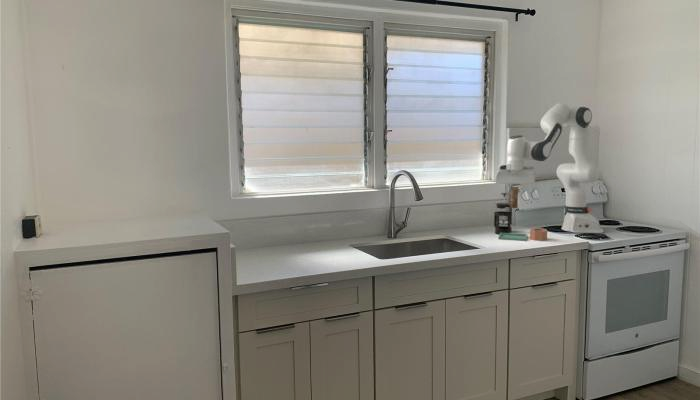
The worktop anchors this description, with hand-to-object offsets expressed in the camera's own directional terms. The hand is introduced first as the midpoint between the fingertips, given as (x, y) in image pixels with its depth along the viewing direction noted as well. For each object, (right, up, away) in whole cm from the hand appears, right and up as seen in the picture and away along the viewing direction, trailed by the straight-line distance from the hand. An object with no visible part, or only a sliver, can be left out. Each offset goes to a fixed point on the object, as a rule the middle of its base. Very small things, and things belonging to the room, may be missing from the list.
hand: (514, 192), depth 283 cm
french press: (0, -23, +21) cm, 31 cm away
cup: (+12, -26, -1) cm, 29 cm away
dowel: (0, -8, +1) cm, 8 cm away
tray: (0, -25, +3) cm, 25 cm away
